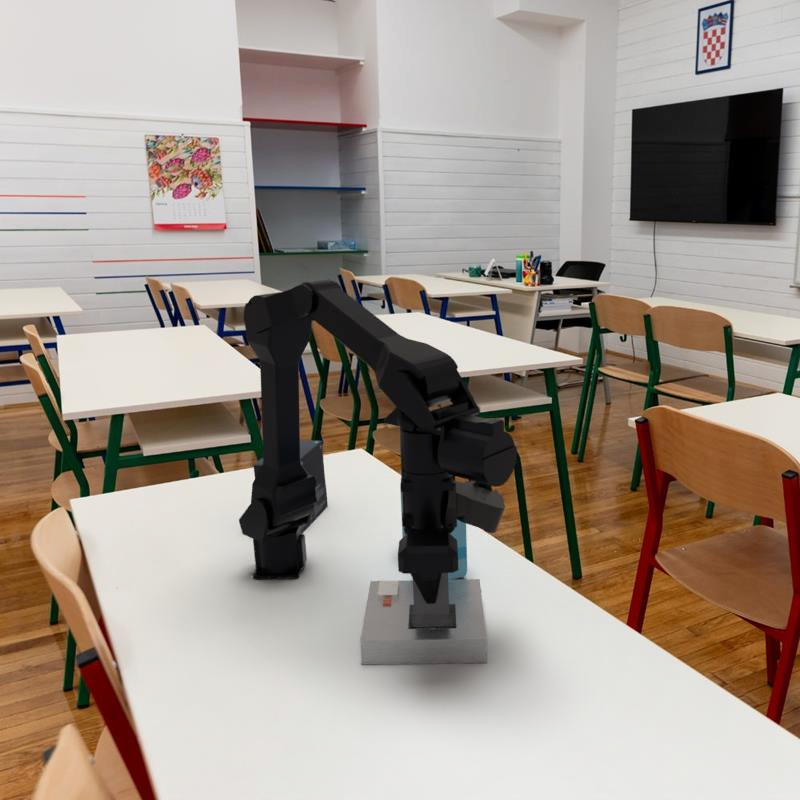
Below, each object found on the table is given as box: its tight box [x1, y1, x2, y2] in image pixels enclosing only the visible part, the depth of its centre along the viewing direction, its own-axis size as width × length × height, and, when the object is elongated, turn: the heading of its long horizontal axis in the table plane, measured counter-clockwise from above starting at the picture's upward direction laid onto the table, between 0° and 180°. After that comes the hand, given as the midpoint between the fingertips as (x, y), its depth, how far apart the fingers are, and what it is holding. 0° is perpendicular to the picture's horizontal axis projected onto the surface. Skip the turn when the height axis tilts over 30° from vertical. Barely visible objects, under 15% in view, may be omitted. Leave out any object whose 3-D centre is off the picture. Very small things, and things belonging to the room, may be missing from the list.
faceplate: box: [359, 578, 488, 665], centre depth 93 cm, size 14×14×4 cm
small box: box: [252, 439, 329, 534], centre depth 127 cm, size 13×7×12 cm, turn 164°
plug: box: [412, 573, 449, 614], centre depth 89 cm, size 5×5×8 cm
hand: (431, 593), depth 90 cm, fingers closed on plug, 4 cm apart
